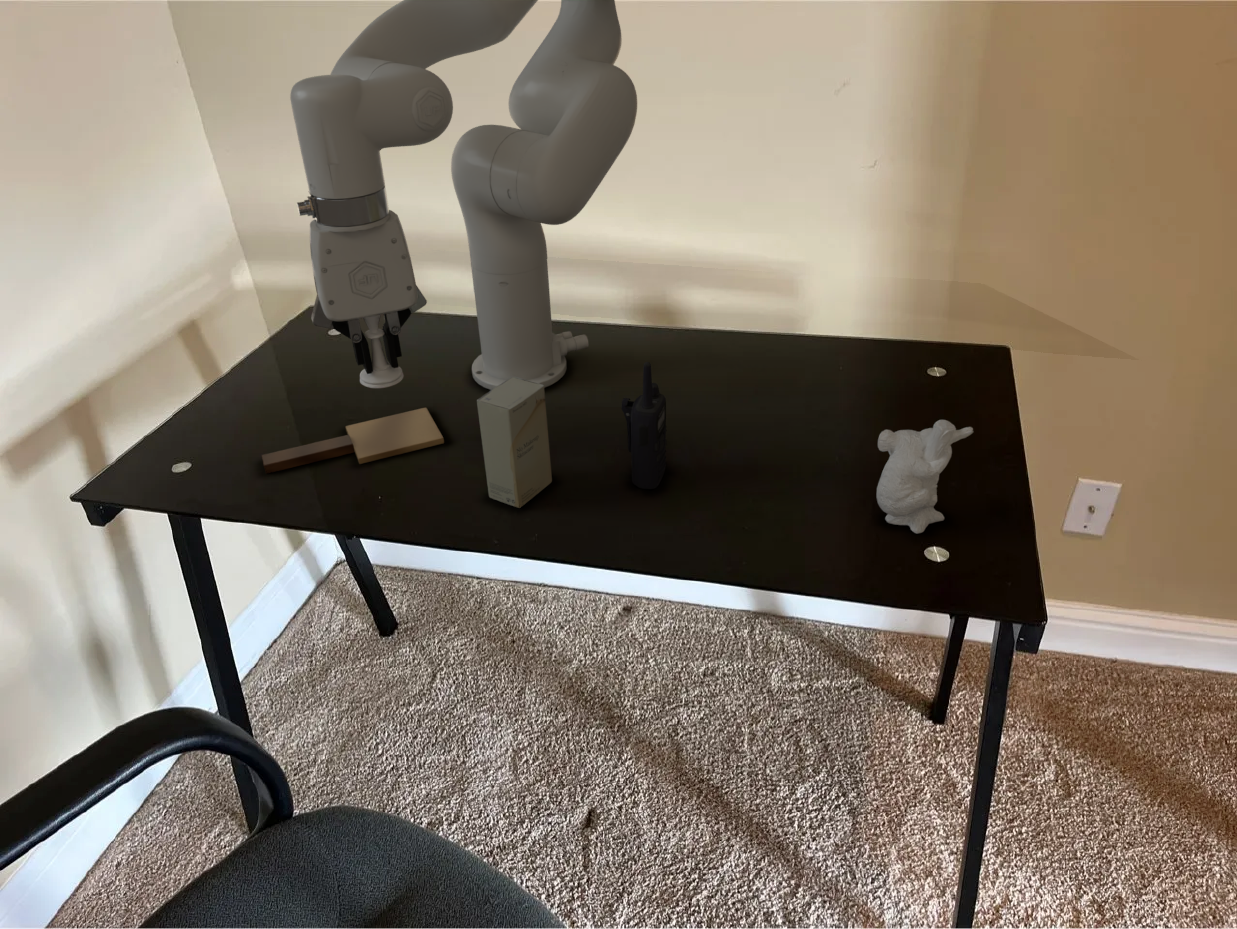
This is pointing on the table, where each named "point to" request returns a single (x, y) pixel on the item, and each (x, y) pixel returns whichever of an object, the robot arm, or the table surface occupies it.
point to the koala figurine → (915, 473)
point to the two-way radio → (647, 433)
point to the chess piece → (378, 360)
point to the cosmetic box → (515, 441)
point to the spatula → (365, 441)
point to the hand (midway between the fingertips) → (380, 364)
